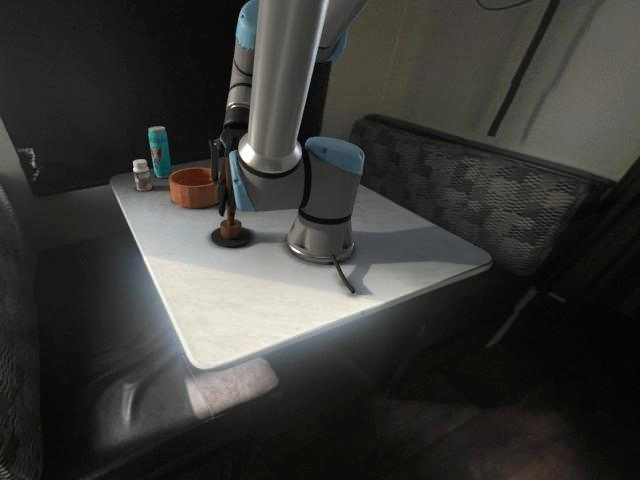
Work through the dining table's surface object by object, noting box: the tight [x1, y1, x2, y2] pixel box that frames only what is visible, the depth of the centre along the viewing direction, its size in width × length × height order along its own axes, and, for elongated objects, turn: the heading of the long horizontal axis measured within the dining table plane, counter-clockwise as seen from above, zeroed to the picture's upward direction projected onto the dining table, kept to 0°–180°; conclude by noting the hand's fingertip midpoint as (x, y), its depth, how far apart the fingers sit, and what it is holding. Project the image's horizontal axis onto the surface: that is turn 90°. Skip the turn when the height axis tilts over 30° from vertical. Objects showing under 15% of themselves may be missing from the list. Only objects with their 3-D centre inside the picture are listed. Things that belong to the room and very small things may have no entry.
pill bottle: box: [132, 158, 153, 191], centre depth 104 cm, size 5×5×8 cm
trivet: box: [210, 226, 252, 249], centre depth 82 cm, size 10×10×1 cm
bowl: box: [168, 167, 221, 209], centre depth 98 cm, size 16×16×6 cm
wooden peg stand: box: [219, 157, 243, 239], centre depth 76 cm, size 5×5×18 cm
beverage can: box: [148, 125, 172, 179], centre depth 110 cm, size 6×6×15 cm
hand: (226, 214), depth 74 cm, fingers closed on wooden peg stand, 2 cm apart
